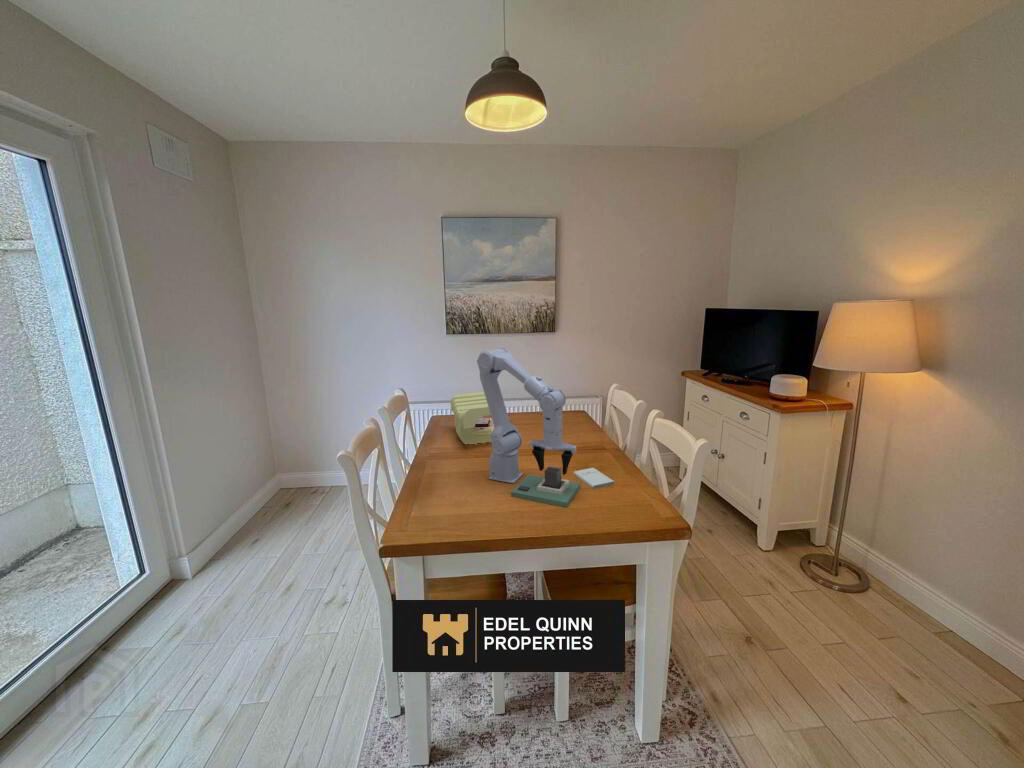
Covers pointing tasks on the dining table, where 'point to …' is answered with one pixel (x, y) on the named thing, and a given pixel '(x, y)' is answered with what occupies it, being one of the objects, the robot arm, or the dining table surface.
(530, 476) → the board
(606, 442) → the dining table surface
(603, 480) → the external hard drive
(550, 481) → the dark grey block
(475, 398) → the ridged pale green box
